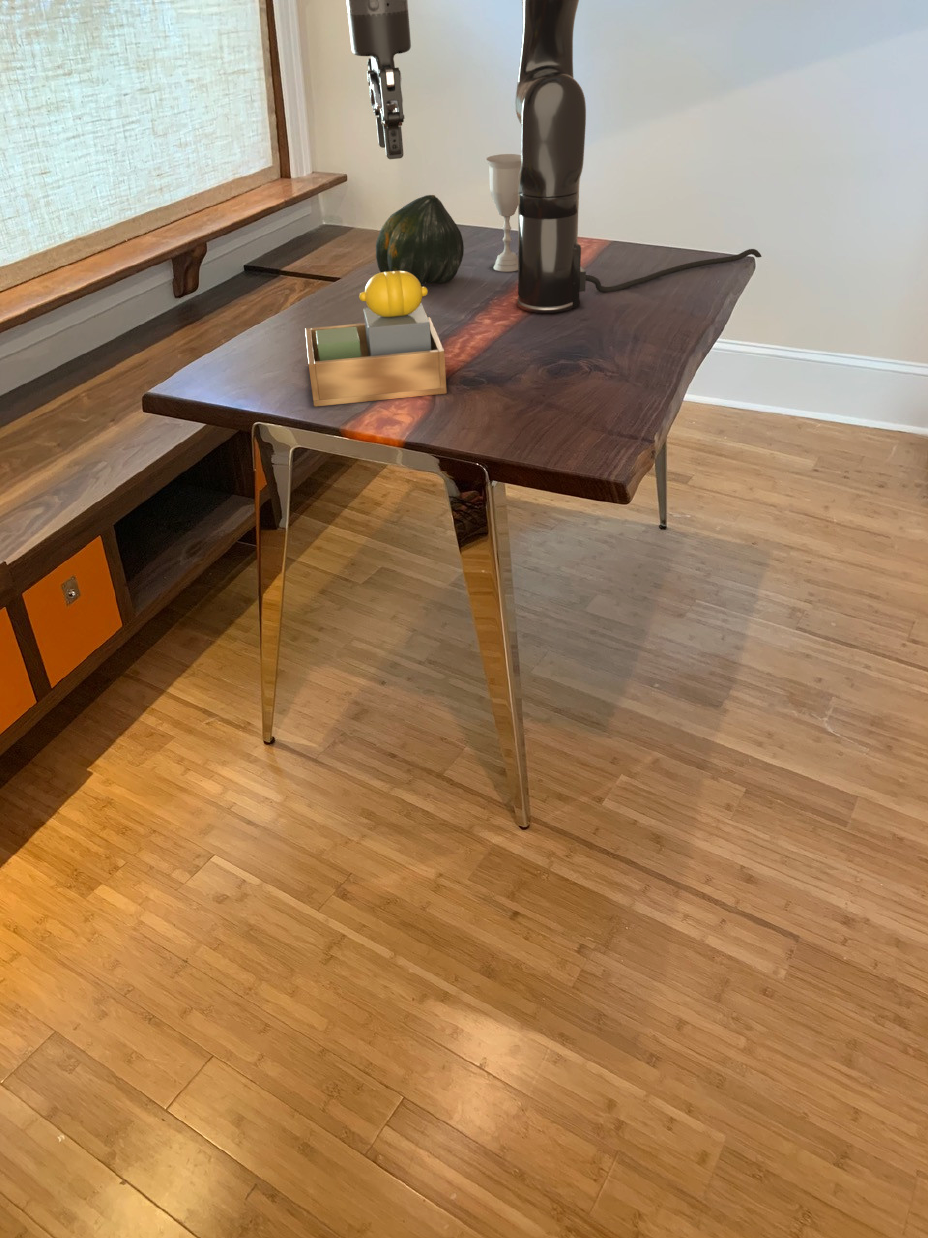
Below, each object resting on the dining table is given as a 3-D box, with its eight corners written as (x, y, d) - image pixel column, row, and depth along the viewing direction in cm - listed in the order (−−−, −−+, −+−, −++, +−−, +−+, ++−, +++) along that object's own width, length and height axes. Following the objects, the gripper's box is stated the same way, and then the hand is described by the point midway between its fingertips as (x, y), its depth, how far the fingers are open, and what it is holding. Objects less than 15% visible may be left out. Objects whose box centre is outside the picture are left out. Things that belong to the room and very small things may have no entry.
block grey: (425, 359, 134) (421, 302, 130) (433, 380, 128) (429, 321, 123) (368, 364, 133) (363, 307, 129) (374, 386, 127) (368, 327, 122)
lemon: (425, 303, 129) (423, 262, 125) (431, 319, 124) (429, 277, 121) (359, 309, 128) (355, 267, 124) (363, 326, 123) (359, 283, 120)
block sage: (360, 368, 132) (356, 326, 129) (363, 383, 128) (359, 340, 124) (321, 372, 132) (315, 330, 128) (323, 387, 127) (317, 344, 124)
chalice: (526, 272, 168) (527, 161, 157) (488, 273, 168) (486, 163, 158) (525, 260, 174) (525, 153, 163) (488, 261, 174) (486, 154, 163)
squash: (352, 246, 166) (380, 185, 153) (422, 233, 173) (455, 174, 160) (389, 315, 164) (420, 260, 151) (458, 299, 172) (493, 245, 159)
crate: (432, 356, 137) (430, 316, 134) (446, 393, 126) (444, 351, 123) (310, 368, 135) (305, 328, 132) (314, 406, 124) (308, 364, 121)
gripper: (416, 9, 112) (427, 159, 121) (400, 2, 123) (411, 140, 133) (352, 14, 111) (368, 165, 121) (342, 7, 122) (357, 145, 132)
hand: (390, 152), depth 127 cm, fingers open, 8 cm apart
